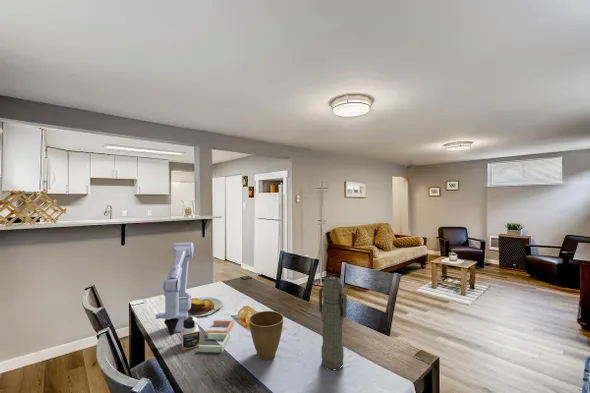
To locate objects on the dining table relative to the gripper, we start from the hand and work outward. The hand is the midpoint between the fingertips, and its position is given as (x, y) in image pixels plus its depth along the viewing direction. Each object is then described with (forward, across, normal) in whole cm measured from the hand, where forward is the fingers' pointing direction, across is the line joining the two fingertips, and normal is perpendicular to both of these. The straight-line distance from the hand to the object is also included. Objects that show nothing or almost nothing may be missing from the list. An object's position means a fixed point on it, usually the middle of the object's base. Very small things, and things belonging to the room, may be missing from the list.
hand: (172, 334), depth 130 cm
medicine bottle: (+5, +9, 0) cm, 10 cm away
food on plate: (+5, -2, +40) cm, 40 cm away
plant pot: (+5, +45, -7) cm, 46 cm away
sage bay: (+4, +20, 0) cm, 21 cm away
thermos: (+5, +73, -12) cm, 74 cm away
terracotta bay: (+4, +18, +14) cm, 23 cm away
